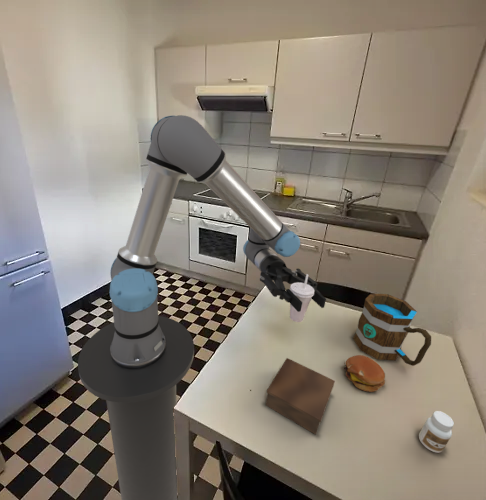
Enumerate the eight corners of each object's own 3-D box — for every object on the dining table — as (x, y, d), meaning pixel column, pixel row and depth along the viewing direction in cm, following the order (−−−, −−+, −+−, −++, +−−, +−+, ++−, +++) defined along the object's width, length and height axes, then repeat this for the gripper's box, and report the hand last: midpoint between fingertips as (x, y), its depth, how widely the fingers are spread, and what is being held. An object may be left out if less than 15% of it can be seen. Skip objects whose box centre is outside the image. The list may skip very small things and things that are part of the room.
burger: (381, 371, 77) (385, 359, 75) (383, 398, 69) (389, 385, 68) (343, 359, 81) (347, 347, 79) (341, 383, 73) (345, 370, 71)
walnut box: (264, 405, 66) (266, 390, 64) (284, 371, 75) (286, 357, 74) (316, 436, 60) (321, 420, 58) (330, 395, 69) (335, 380, 67)
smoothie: (304, 328, 74) (314, 282, 68) (281, 319, 77) (289, 274, 71) (310, 316, 79) (320, 272, 74) (289, 308, 82) (296, 266, 76)
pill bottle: (421, 449, 59) (435, 424, 56) (415, 429, 62) (427, 405, 59) (446, 456, 57) (461, 432, 54) (438, 436, 61) (451, 412, 58)
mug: (343, 335, 91) (355, 296, 85) (373, 327, 95) (386, 289, 89) (398, 383, 74) (417, 339, 68) (431, 370, 79) (451, 328, 73)
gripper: (294, 272, 95) (340, 312, 75) (241, 278, 89) (276, 323, 69) (297, 252, 92) (346, 288, 72) (243, 257, 86) (280, 297, 66)
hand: (312, 305), depth 71 cm, fingers closed on smoothie, 6 cm apart
